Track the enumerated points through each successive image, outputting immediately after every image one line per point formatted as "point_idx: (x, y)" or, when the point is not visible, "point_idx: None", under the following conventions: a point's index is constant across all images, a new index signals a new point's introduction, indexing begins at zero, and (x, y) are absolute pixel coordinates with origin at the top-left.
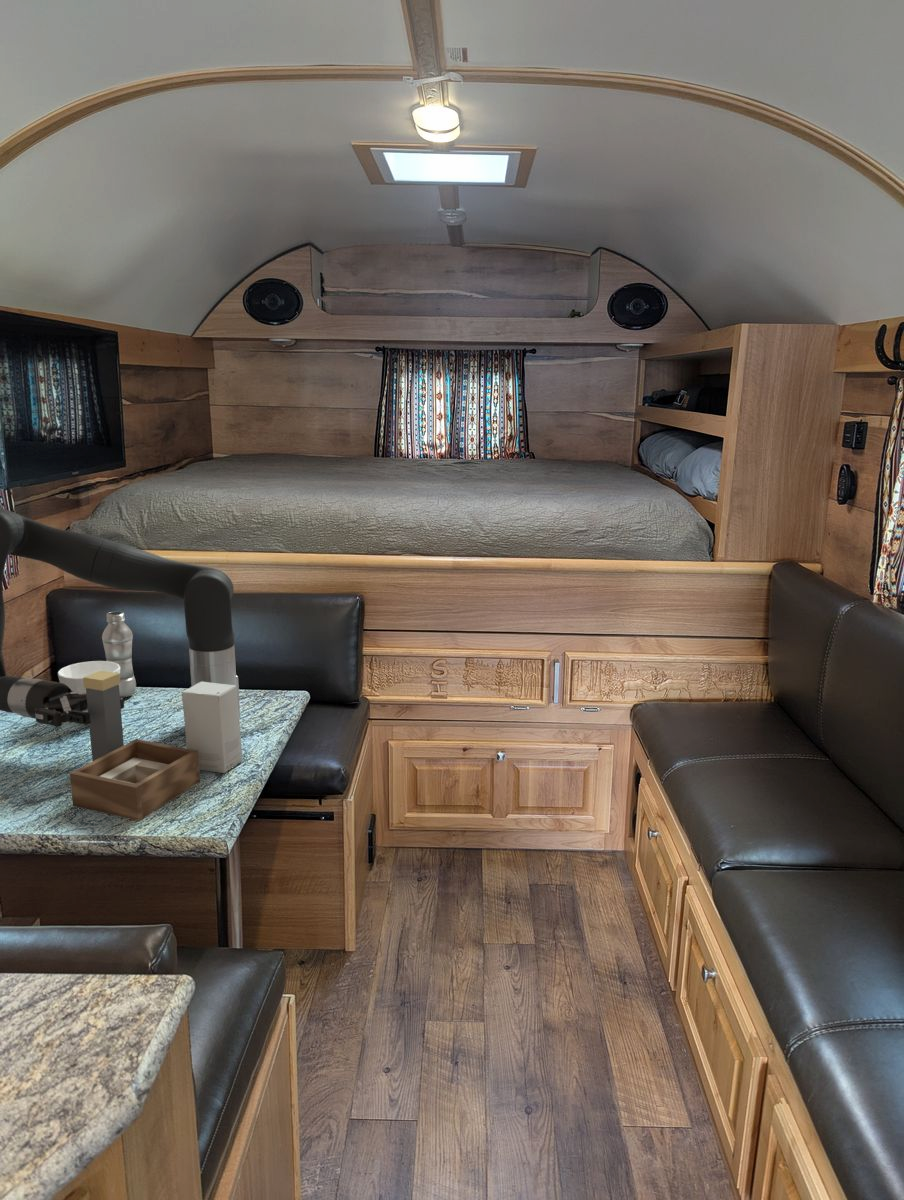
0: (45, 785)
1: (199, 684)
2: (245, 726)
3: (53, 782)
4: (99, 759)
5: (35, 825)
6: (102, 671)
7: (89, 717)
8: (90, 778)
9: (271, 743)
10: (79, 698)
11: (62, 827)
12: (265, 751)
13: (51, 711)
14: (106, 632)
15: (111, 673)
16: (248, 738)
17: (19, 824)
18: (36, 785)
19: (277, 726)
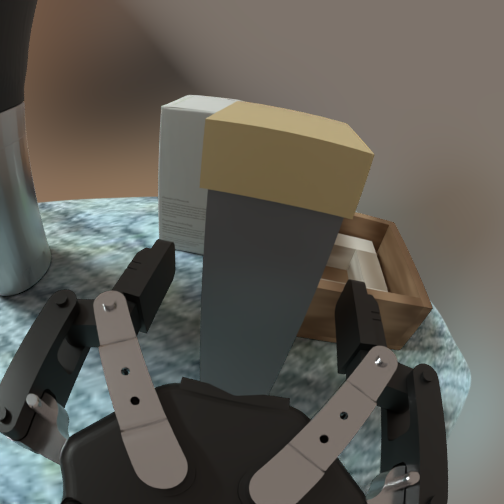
0: (370, 454)
1: (183, 105)
2: (48, 232)
3: (353, 450)
4: (369, 292)
5: (453, 356)
6: (226, 116)
7: (345, 289)
8: (418, 274)
9: (118, 201)
10: (188, 417)
11: (435, 324)
12: (145, 201)
13: (430, 411)
14: None
15: (249, 106)
16: (95, 221)
17: (463, 376)
18: (378, 471)
19: (61, 206)
